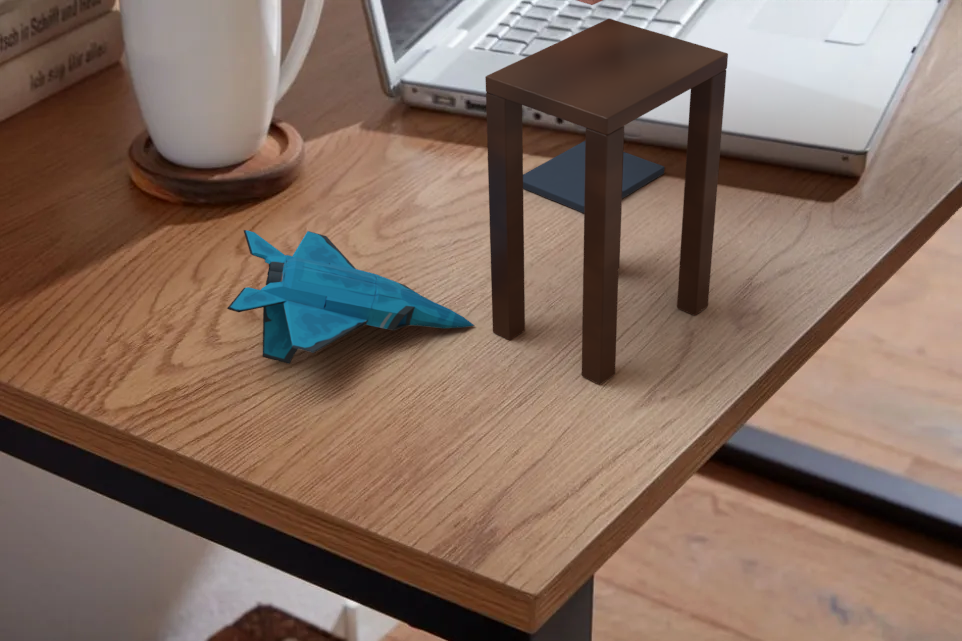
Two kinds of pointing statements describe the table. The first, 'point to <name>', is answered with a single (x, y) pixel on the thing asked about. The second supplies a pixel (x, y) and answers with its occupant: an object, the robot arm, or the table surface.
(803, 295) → the table surface
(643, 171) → the mat
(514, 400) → the table surface
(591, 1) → the pink block
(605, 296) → the wooden stool
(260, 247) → the toy airplane
